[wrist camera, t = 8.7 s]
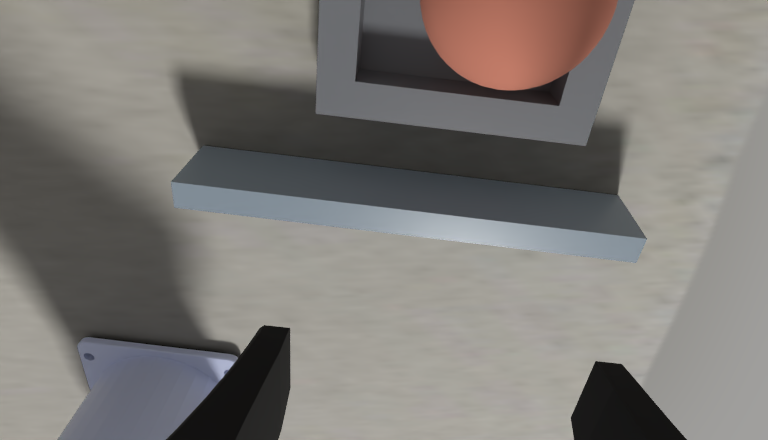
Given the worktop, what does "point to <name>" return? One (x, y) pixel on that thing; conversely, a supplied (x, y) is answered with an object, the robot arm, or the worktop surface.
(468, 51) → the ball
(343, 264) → the worktop surface
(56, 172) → the worktop surface
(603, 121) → the worktop surface
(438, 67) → the tray
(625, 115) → the worktop surface
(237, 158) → the low wall
